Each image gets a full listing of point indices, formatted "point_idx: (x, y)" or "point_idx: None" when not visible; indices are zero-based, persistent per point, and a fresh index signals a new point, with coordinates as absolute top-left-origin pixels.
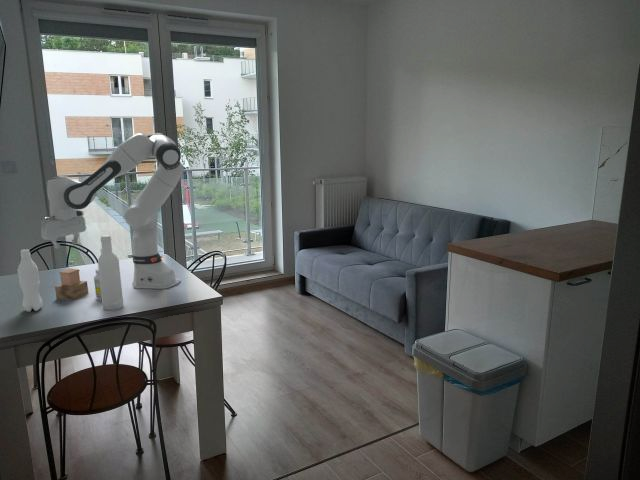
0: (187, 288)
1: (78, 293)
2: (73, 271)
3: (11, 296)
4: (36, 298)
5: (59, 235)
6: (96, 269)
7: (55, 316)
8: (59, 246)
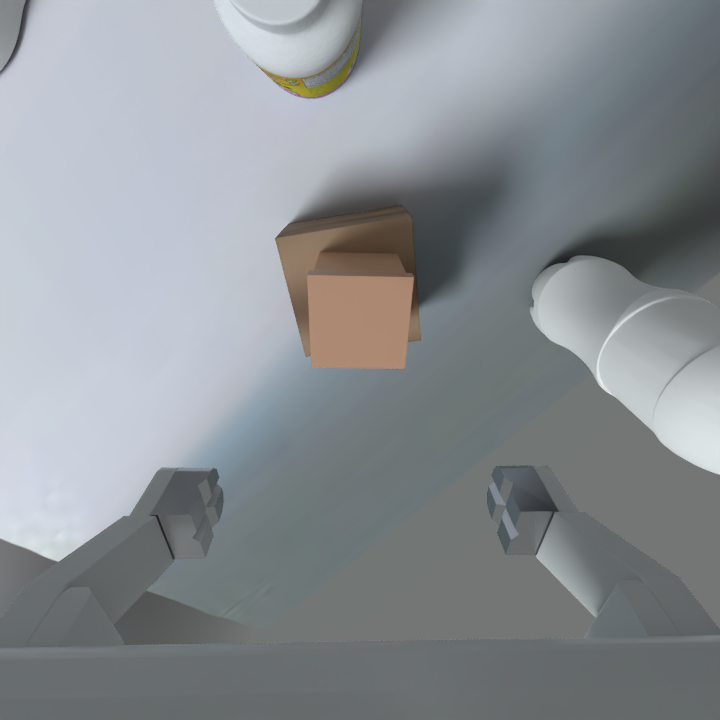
0: None
1: (369, 214)
2: (367, 276)
3: (422, 488)
4: (618, 270)
5: (669, 693)
6: (302, 1)
7: (671, 71)
8: (514, 477)
